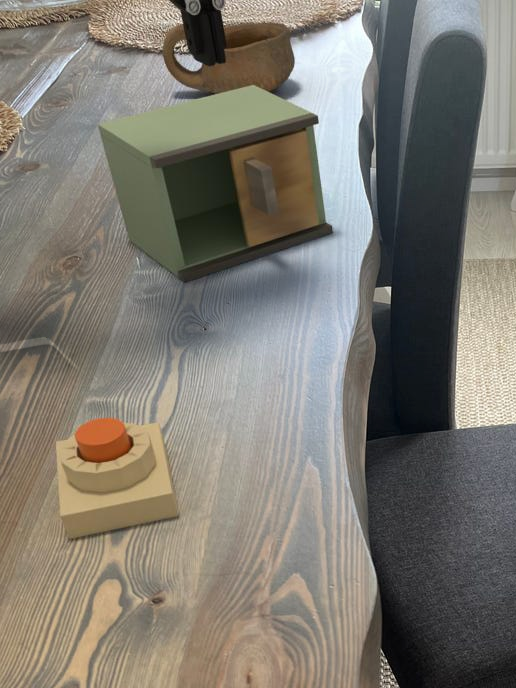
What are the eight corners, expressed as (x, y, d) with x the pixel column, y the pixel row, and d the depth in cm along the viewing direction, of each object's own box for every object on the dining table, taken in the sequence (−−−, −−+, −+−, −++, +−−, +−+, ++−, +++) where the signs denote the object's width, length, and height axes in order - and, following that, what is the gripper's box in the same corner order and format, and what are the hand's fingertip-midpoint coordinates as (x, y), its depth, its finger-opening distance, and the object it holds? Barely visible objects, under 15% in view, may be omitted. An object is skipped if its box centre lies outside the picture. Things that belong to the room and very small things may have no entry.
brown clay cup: (178, 109, 136) (157, 23, 131) (174, 109, 147) (155, 30, 142) (307, 91, 139) (292, 6, 134) (293, 92, 151) (279, 14, 146)
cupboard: (184, 282, 103) (154, 160, 94) (129, 240, 110) (97, 123, 101) (333, 232, 110) (318, 115, 102) (272, 196, 118) (253, 84, 109)
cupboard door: (266, 258, 103) (248, 161, 96) (246, 245, 106) (228, 149, 99) (336, 235, 107) (324, 139, 100) (316, 223, 109) (303, 129, 102)
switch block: (179, 516, 75) (166, 472, 72) (69, 539, 74) (51, 495, 71) (165, 444, 82) (152, 402, 79) (64, 464, 80) (47, 421, 78)
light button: (133, 459, 74) (126, 439, 73) (83, 469, 74) (75, 449, 72) (129, 433, 77) (122, 413, 76) (80, 442, 76) (73, 422, 75)
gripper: (224, -222, 81) (262, 36, 94) (45, -206, 74) (112, 69, 87) (272, -215, 77) (304, 54, 90) (87, -197, 70) (151, 90, 83)
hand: (209, 60), depth 89 cm, fingers closed
